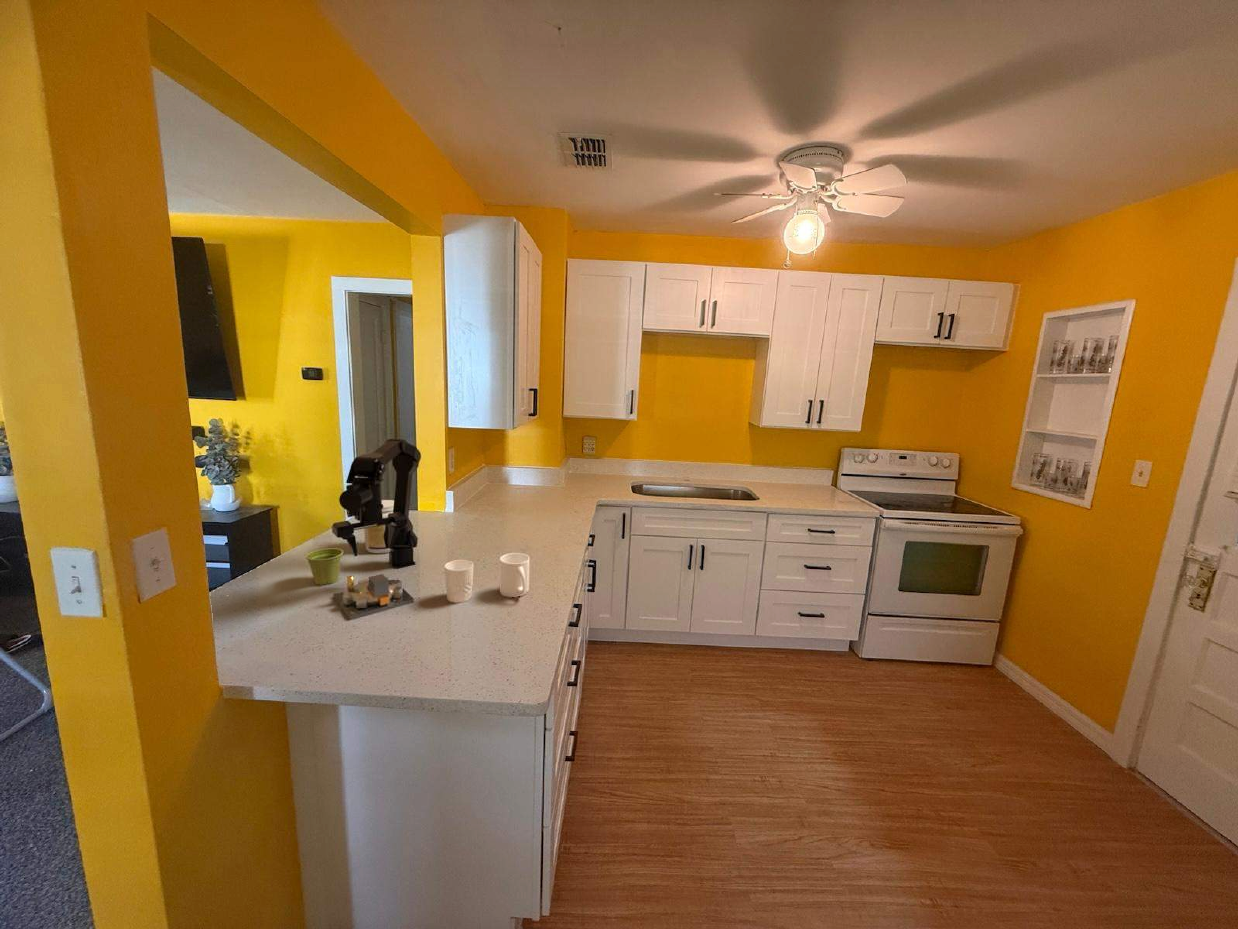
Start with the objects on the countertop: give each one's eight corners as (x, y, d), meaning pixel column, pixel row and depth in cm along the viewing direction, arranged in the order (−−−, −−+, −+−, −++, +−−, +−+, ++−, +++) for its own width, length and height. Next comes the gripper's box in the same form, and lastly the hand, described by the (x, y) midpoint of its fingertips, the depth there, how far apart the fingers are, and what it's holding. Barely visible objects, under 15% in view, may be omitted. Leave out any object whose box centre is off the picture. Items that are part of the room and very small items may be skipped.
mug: (509, 605, 130) (509, 570, 128) (495, 588, 139) (496, 555, 138) (537, 599, 134) (538, 564, 132) (522, 583, 144) (523, 551, 142)
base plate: (393, 582, 140) (393, 579, 140) (413, 602, 129) (413, 598, 128) (333, 597, 129) (333, 594, 129) (349, 620, 117) (349, 616, 117)
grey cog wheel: (348, 586, 133) (347, 566, 132) (405, 581, 138) (404, 562, 137) (336, 610, 119) (335, 589, 118) (400, 604, 124) (399, 583, 123)
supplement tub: (409, 547, 168) (408, 503, 165) (377, 557, 158) (375, 510, 155) (390, 540, 175) (389, 497, 172) (358, 549, 164) (356, 503, 162)
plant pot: (327, 589, 133) (325, 561, 132) (299, 585, 135) (297, 557, 133) (351, 576, 142) (350, 550, 141) (325, 572, 144) (324, 546, 142)
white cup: (479, 594, 135) (479, 562, 133) (461, 606, 128) (461, 572, 126) (457, 589, 138) (456, 558, 136) (438, 600, 130) (438, 567, 129)
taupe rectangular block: (382, 587, 128) (382, 574, 128) (388, 593, 125) (388, 580, 124) (369, 590, 126) (368, 577, 125) (374, 597, 122) (374, 583, 122)
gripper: (394, 489, 142) (396, 537, 145) (324, 499, 129) (328, 551, 132) (408, 497, 134) (410, 547, 137) (336, 508, 121) (340, 563, 124)
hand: (373, 552), depth 133 cm, fingers open, 9 cm apart
